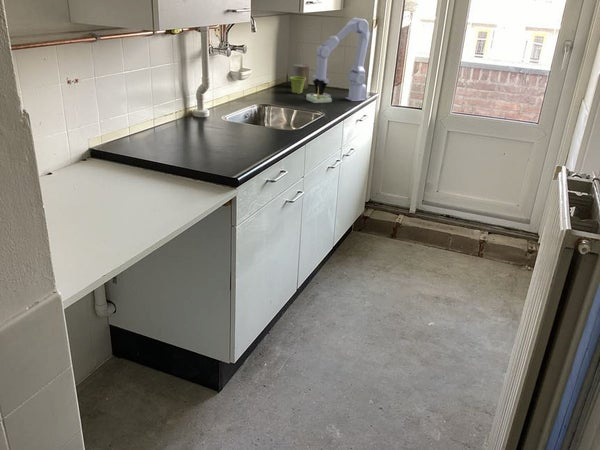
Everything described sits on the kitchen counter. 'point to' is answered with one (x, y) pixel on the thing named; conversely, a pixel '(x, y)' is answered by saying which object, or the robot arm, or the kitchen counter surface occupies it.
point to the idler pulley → (311, 94)
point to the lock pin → (318, 94)
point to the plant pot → (297, 84)
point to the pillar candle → (302, 73)
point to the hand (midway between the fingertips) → (319, 93)
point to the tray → (314, 99)
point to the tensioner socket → (327, 95)
